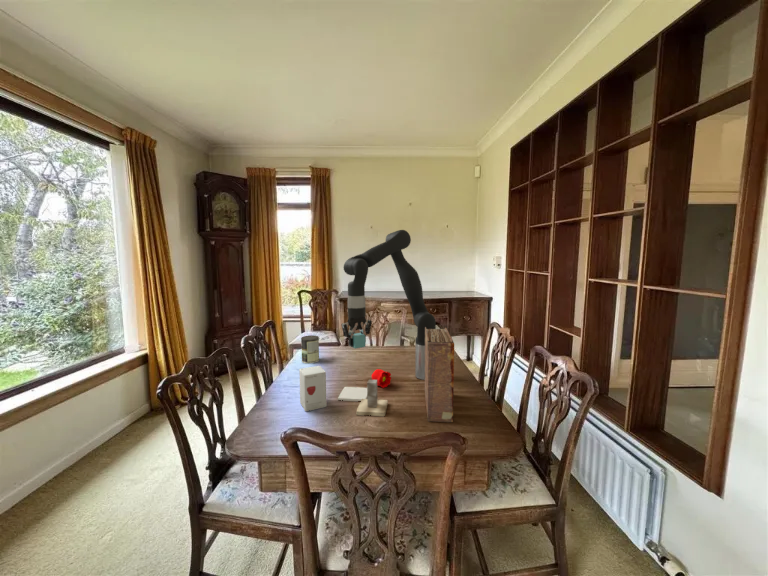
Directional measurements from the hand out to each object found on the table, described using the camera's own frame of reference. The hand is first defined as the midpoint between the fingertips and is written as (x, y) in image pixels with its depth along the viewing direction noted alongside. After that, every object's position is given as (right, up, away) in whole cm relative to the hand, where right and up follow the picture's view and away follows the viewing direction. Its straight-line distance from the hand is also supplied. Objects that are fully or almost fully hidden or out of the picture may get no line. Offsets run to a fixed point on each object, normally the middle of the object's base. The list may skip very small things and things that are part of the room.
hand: (357, 345), depth 135 cm
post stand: (+7, -24, -8) cm, 26 cm away
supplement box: (-18, -24, -4) cm, 30 cm away
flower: (+10, -22, +16) cm, 29 cm away
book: (+33, -24, -6) cm, 41 cm away
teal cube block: (0, 0, 0) cm, 0 cm away
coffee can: (-32, -19, +53) cm, 65 cm away
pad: (-2, -23, +5) cm, 24 cm away
